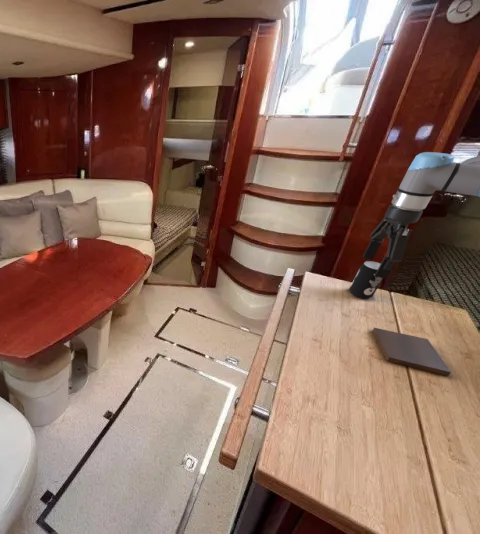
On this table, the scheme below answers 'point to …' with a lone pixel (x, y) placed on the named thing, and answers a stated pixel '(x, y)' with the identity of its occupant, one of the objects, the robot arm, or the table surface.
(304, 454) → the table surface
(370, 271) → the beverage can
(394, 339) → the walnut board
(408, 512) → the table surface
